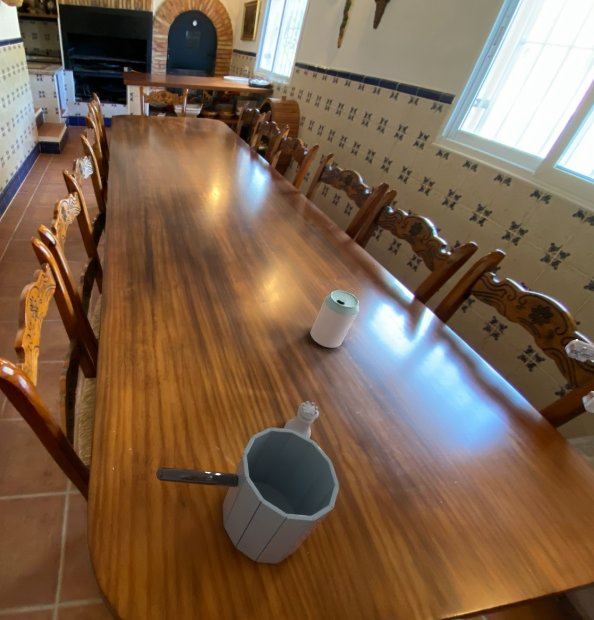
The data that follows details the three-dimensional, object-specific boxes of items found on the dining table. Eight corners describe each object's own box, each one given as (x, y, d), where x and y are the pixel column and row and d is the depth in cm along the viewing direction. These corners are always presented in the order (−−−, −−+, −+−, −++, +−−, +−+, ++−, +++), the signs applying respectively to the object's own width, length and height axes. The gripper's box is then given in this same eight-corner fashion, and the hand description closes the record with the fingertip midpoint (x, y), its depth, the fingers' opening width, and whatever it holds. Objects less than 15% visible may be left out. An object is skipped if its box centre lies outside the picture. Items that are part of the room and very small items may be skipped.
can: (343, 352, 80) (366, 311, 72) (311, 346, 81) (330, 305, 73) (337, 331, 85) (358, 291, 78) (307, 326, 86) (325, 285, 78)
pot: (290, 483, 56) (323, 432, 47) (306, 566, 48) (351, 524, 38) (156, 471, 56) (161, 417, 47) (149, 552, 48) (153, 506, 38)
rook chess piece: (292, 418, 66) (306, 391, 60) (313, 436, 63) (330, 409, 58) (278, 431, 63) (291, 405, 58) (299, 450, 61) (314, 424, 56)
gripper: (737, 352, 40) (580, 304, 45) (882, 515, 26) (631, 418, 32) (682, 387, 44) (543, 339, 49) (781, 544, 30) (574, 454, 36)
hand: (578, 371), depth 40 cm, fingers open, 8 cm apart
